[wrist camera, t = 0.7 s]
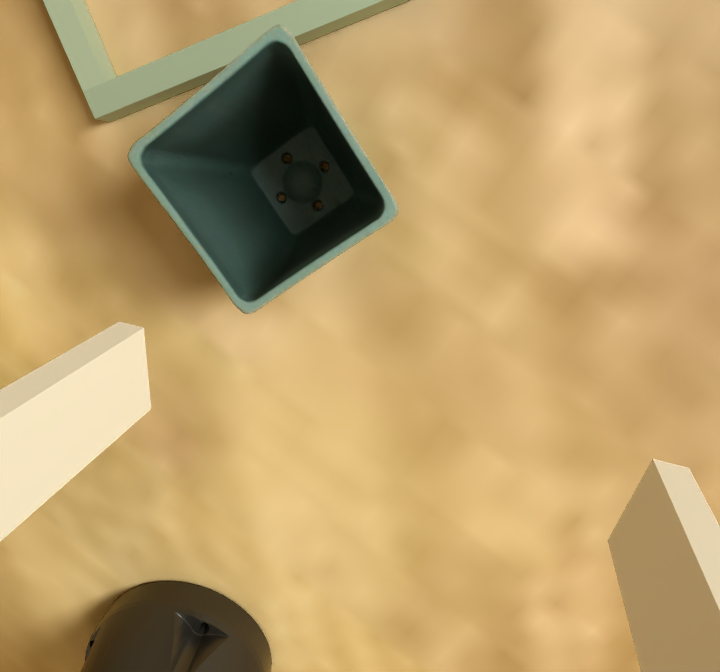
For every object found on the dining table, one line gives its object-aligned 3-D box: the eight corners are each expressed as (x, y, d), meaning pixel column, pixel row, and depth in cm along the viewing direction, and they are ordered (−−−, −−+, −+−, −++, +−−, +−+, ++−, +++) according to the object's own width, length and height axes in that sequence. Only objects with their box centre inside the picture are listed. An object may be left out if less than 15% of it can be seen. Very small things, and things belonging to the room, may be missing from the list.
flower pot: (288, 283, 31) (243, 320, 22) (203, 163, 29) (119, 153, 20) (403, 205, 29) (403, 213, 20) (320, 70, 27) (281, 16, 18)
